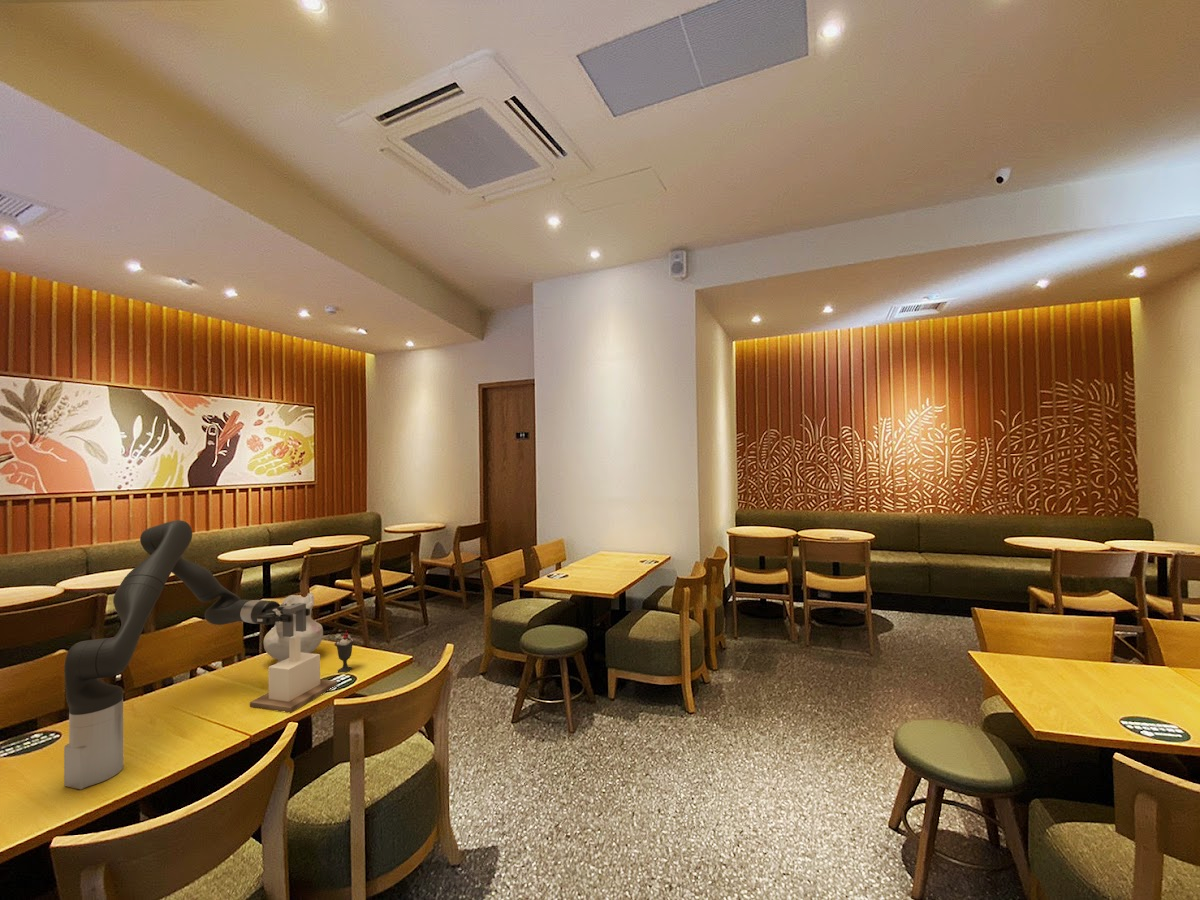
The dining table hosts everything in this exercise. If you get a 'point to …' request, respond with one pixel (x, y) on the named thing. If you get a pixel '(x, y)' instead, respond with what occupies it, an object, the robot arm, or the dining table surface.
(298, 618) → the gray u-shaped archway
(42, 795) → the dining table surface
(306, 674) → the white block with post
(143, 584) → the robot arm
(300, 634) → the ceramic pitcher
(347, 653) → the sundae
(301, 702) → the display base
